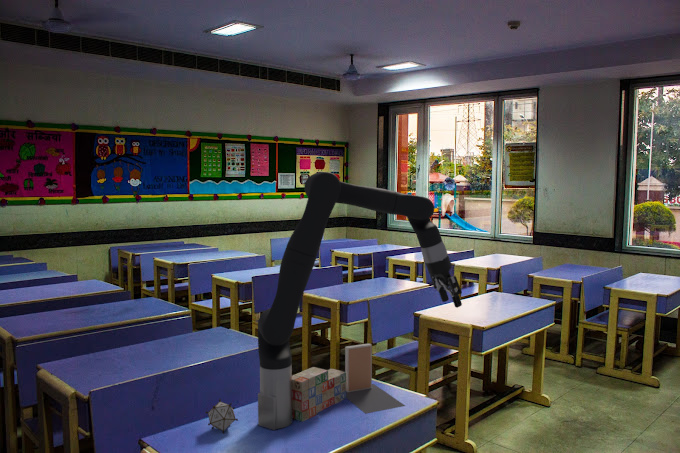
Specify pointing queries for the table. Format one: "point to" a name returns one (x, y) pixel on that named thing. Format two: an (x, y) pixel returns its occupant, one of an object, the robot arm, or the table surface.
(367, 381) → the tile
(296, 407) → the stack of blocks
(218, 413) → the game die
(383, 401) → the mat
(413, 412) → the table surface
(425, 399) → the table surface
